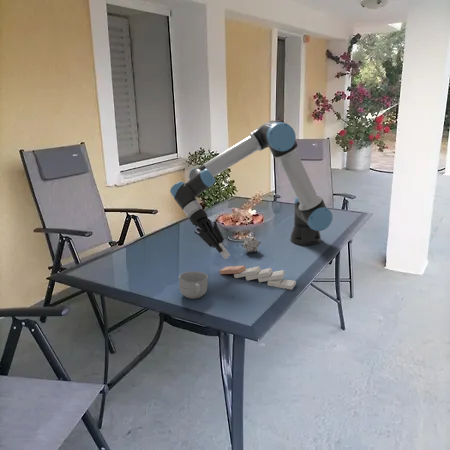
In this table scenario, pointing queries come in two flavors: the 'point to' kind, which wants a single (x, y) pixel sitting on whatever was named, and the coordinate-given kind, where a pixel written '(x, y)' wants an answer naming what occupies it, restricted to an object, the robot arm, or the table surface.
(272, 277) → the domino
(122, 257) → the table surface
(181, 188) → the robot arm
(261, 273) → the domino
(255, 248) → the game die
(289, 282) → the domino
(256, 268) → the domino
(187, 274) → the teacup
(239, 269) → the domino
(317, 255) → the table surface
